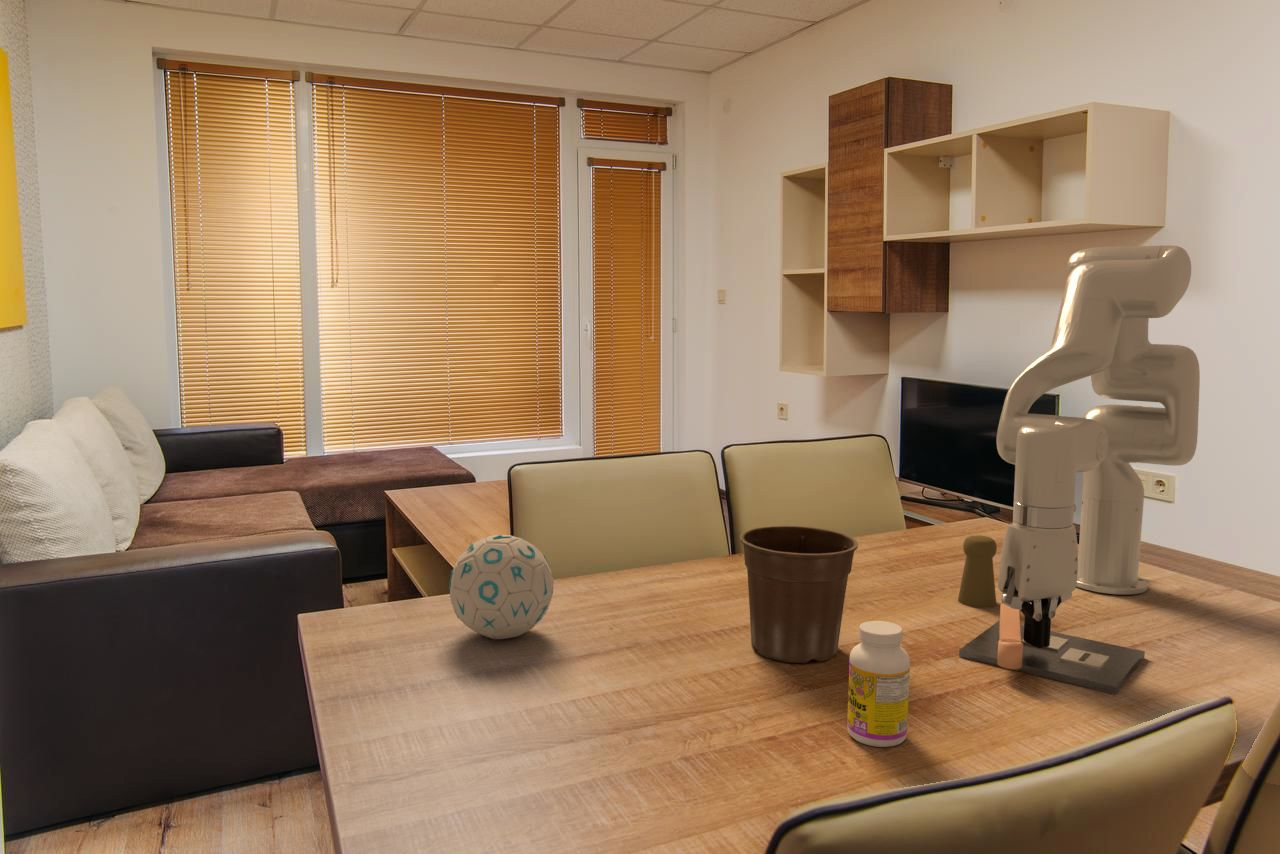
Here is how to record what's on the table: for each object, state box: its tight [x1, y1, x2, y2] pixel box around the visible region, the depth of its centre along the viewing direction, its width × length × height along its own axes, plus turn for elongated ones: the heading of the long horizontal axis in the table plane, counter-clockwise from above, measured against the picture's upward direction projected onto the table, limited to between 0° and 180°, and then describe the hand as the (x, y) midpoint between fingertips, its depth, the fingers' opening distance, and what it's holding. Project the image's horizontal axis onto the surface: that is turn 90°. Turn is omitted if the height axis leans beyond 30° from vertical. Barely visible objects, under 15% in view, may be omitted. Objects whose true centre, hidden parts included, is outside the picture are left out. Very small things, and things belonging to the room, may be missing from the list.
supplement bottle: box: [846, 620, 911, 748], centre depth 107 cm, size 7×7×13 cm
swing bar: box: [997, 602, 1023, 670], centre depth 131 cm, size 18×3×3 cm, turn 159°
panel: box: [958, 592, 1146, 695], centre depth 131 cm, size 16×20×6 cm
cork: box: [957, 534, 998, 609], centre depth 156 cm, size 6×6×11 cm
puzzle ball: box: [448, 534, 554, 640], centre depth 139 cm, size 15×15×15 cm
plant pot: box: [739, 525, 859, 664], centre depth 134 cm, size 16×16×16 cm
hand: (1036, 643), depth 131 cm, fingers closed
